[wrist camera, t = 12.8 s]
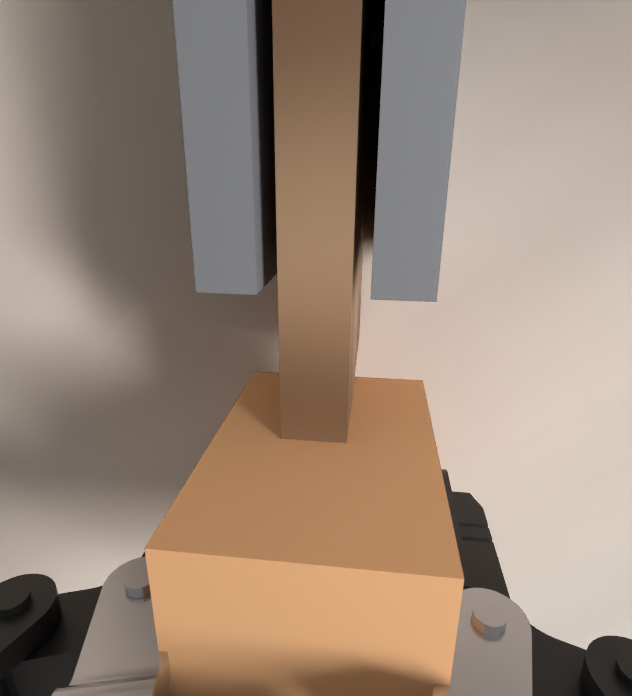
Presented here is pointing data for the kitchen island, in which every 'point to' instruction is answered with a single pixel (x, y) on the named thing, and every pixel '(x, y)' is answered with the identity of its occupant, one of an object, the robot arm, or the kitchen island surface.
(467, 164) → the kitchen island surface
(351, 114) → the gate
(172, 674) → the orange block
